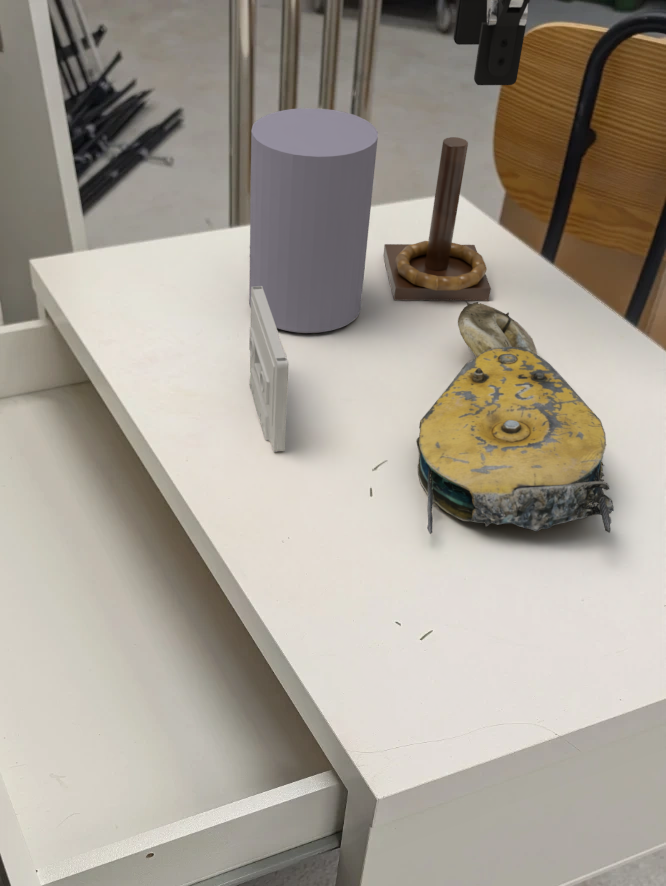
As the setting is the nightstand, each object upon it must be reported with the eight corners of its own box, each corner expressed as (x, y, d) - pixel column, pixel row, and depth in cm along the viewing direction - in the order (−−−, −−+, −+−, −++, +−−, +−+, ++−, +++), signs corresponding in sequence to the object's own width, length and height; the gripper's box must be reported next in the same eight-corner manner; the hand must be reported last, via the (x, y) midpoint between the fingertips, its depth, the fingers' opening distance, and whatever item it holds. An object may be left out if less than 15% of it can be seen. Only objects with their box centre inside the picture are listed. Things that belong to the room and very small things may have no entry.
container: (340, 345, 90) (355, 165, 79) (232, 322, 92) (232, 143, 81) (374, 293, 97) (393, 119, 85) (272, 272, 99) (277, 100, 87)
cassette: (291, 453, 80) (295, 362, 74) (267, 454, 79) (270, 364, 74) (265, 371, 87) (267, 283, 81) (243, 372, 87) (244, 284, 81)
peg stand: (472, 256, 102) (496, 122, 93) (488, 300, 96) (516, 162, 87) (383, 256, 102) (398, 121, 92) (394, 300, 96) (411, 161, 87)
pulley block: (588, 274, 86) (631, 491, 67) (581, 338, 90) (619, 560, 71) (419, 286, 88) (412, 500, 69) (420, 348, 93) (414, 566, 73)
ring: (475, 251, 100) (477, 238, 99) (491, 292, 95) (494, 280, 94) (390, 250, 100) (391, 238, 99) (402, 292, 94) (403, 280, 93)
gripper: (614, -207, 63) (553, 101, 76) (552, -244, 75) (508, 29, 88) (494, -207, 63) (453, 101, 76) (450, -244, 74) (421, 29, 87)
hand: (483, 62), depth 82 cm, fingers open, 9 cm apart
